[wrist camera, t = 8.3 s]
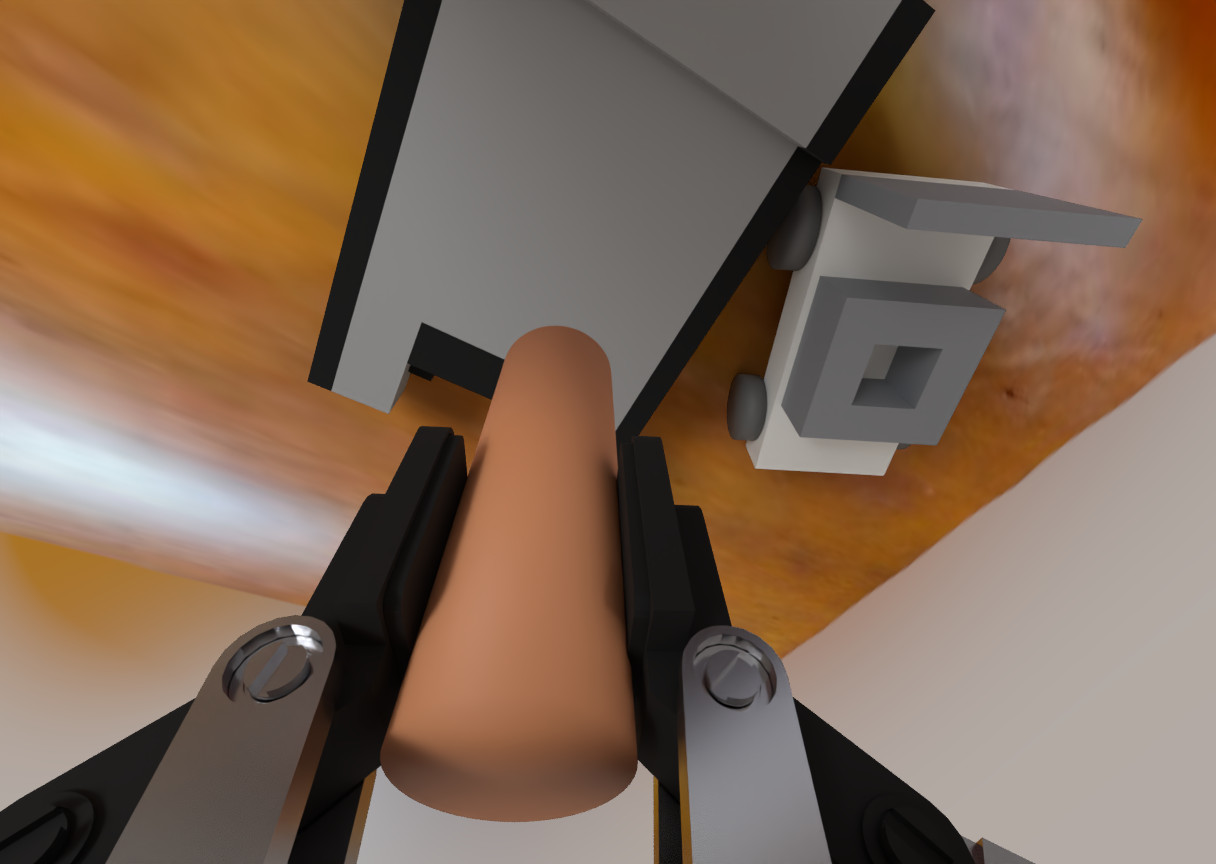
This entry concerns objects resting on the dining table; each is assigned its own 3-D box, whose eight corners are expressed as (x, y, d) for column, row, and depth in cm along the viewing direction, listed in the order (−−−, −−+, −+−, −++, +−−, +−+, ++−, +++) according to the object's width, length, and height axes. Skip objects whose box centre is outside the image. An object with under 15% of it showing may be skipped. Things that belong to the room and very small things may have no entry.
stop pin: (500, 322, 14) (357, 695, 5) (615, 329, 14) (651, 701, 5) (505, 419, 15) (400, 821, 7) (607, 424, 15) (626, 821, 7)
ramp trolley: (784, 160, 33) (882, 195, 22) (980, 178, 34) (1175, 222, 22) (720, 427, 44) (764, 544, 32) (870, 436, 45) (964, 554, 33)
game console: (350, 338, 39) (298, 390, 32) (517, -238, 24) (485, -371, 17) (597, 444, 45) (597, 507, 38) (856, 30, 30) (935, 10, 23)
